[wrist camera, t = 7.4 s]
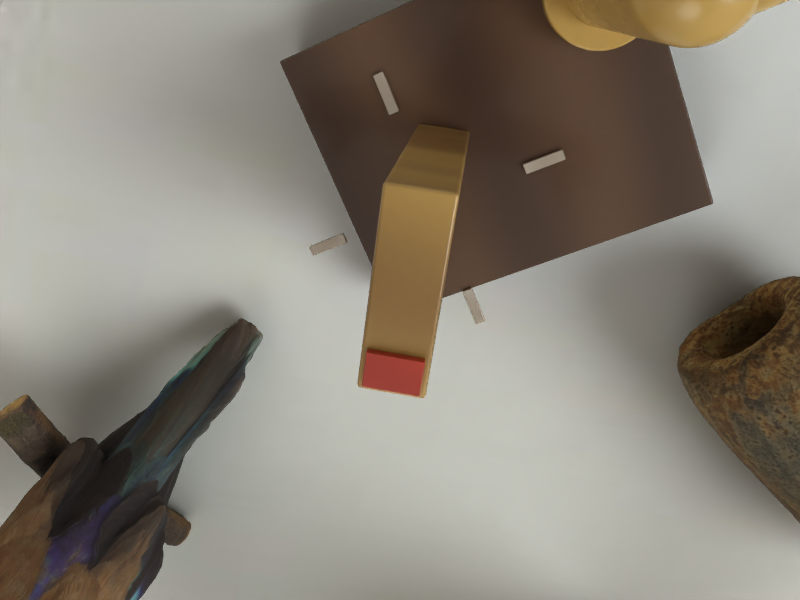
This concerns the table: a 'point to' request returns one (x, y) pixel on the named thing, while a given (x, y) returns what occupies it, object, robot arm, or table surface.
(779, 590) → the table surface
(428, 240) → the tap handle
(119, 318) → the table surface
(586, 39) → the tap spout
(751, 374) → the brown cylindrical piece
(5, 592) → the bird figurine
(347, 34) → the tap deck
